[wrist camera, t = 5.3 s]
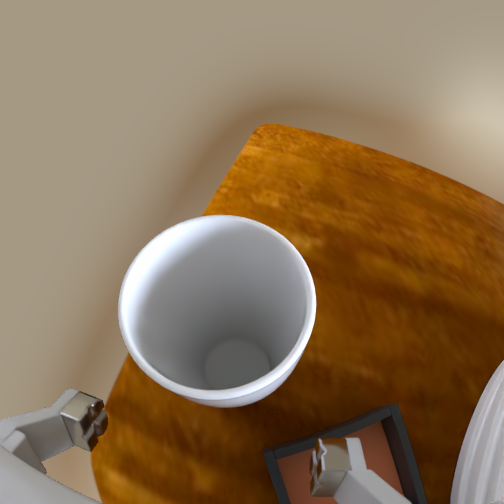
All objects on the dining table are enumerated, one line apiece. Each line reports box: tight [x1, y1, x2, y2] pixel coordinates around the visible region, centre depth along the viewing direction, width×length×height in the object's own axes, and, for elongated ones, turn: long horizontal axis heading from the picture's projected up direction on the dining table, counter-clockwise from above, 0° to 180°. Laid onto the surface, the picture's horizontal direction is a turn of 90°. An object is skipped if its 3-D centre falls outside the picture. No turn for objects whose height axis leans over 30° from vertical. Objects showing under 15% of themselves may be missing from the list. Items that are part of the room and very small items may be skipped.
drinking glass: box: [118, 215, 316, 408], centre depth 16 cm, size 7×7×15 cm
